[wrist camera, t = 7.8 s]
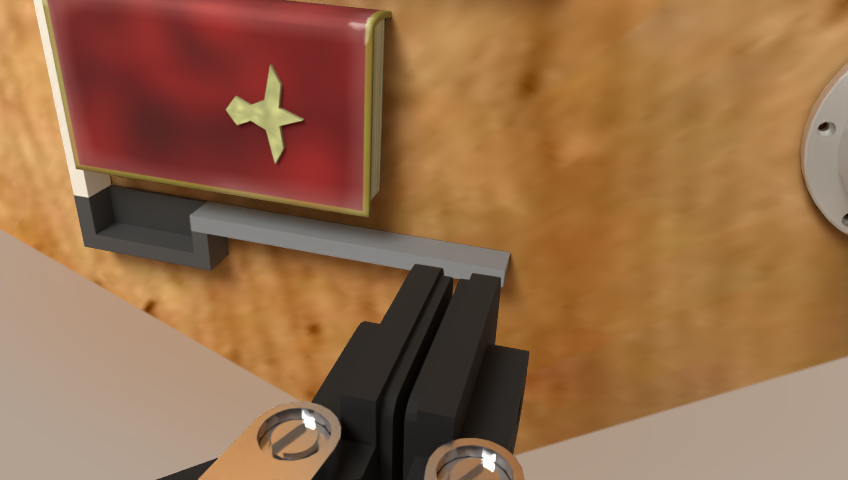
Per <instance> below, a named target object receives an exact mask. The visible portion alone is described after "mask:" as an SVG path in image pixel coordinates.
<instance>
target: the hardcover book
mask: <svg viewBox="0 0 848 480" xmlns="http://www.w3.org/2000/svg"><path fill="white" fill-rule="evenodd" d="M42 4H43V9H44V14H45V19H46V24H47V29H48V34H49V39H50V44H51V49H52V53H53V58H54V63H55V68H56V73H57V78H58V83H59V88H60V93H61V98H62V103H63V108H64V113H65V118H66V123H67V128H68V133H69V138H70V143H71V148H72V153H73V158H74V162H75V167H76V169H79V170H85V171H91V172H97V173H103V174H109V175H115V176H121V177H127V178H133V179H139V180H145V181H151V182H157V183H163V184H169V185H175V186H181V187H187V188H193V189H199V190H205V191H211V192H217V193H223V194H229V195H235V196H241V197H247V198H253V199H259V200H265V201H271V202H277V203H283V204H289V205H295V206H301V207H307V208H313V209H319V210H325V211H331V212H337V213H343V214H349V215H355V216H361V217H368V218H369V216H370V215H371V200H372V199H373V198H374V196H375V195H376V194H377V193H378V191H379V190H380V163H381V127H382V92H383V56H384V20H385V19H386V18H391V11H383V10H373V9H363V8H354V7H344V6H334V5H325V4H315V3H305V2H295V1H286V0H42Z"/></svg>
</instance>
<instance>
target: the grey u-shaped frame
mask: <svg viewBox="0 0 848 480" xmlns="http://www.w3.org/2000/svg"><path fill="white" fill-rule="evenodd" d="M34 5H35V10H36V14H37V19H38V24H39V29H40V34H41V39H42V43H43V48H44V53H45V58H46V63H47V68H48V72H49V77H50V82H51V87H52V92H53V96H54V101H55V106H56V111H57V116H58V121H59V125H60V130H61V135H62V140H63V145H64V149H65V154H66V159H67V164H68V169H69V174H70V178H71V183H72V188H73V193H74V198H75V203H76V207H77V212H78V217H79V222H80V227H81V231H82V236H83V241H84V246H85V247H90V248H95V249H101V250H106V251H111V252H116V253H121V254H127V255H132V256H137V257H142V258H148V259H153V260H158V261H163V262H168V263H174V264H179V265H184V266H189V267H194V268H200V269H205V270H210V271H211V270H212V269H213V268H214V267H215V266H216V265H218V264H219V263H220V262H221V261H222V260H223V259H224V258H225V257H226V256H227V255H228V246H227V237H228V238H234V239H239V240H245V241H250V242H256V243H262V244H267V245H273V246H278V247H284V248H289V249H295V250H300V251H306V252H311V253H317V254H322V255H328V256H334V257H339V258H345V259H350V260H356V261H361V262H367V263H372V264H378V265H383V266H389V267H394V268H400V269H406V270H411V269H412V267H413V266H414V264H421V265H427V266H434V267H440V268H443V269H444V276H449V277H452V278H455V279H461V278H462V279H468V280H469V279H470V277H471V275H472V273H477V274H484V275H490V276H496V277H501V287H503V285H504V281H505V278H506V274H507V271H508V266H509V258H510V252H504V251H498V250H492V249H486V248H481V247H475V246H469V245H463V244H457V243H451V242H445V241H439V240H434V239H428V238H422V237H416V236H410V235H404V234H398V233H392V232H387V231H381V230H375V229H369V228H363V227H357V226H351V225H345V224H340V223H334V222H328V221H322V220H316V219H310V218H304V217H298V216H293V215H287V214H281V213H275V212H269V211H263V210H257V209H251V208H246V207H240V206H234V205H228V204H222V203H216V202H210V201H204V200H199V199H193V198H187V197H181V196H175V195H169V194H163V193H157V192H152V191H146V190H140V189H134V188H128V187H122V186H116V185H111V180H110V175H109V174H103V173H97V172H91V171H85V170H79V169H76V167H75V162H74V158H73V153H72V148H71V143H70V138H69V133H68V128H67V123H66V118H65V113H64V108H63V103H62V98H61V93H60V88H59V83H58V78H57V73H56V68H55V63H54V58H53V53H52V49H51V44H50V39H49V34H48V29H47V24H46V19H45V14H44V9H43V4H42V0H34Z"/></svg>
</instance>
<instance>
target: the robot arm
mask: <svg viewBox="0 0 848 480" xmlns="http://www.w3.org/2000/svg"><path fill="white" fill-rule="evenodd" d="M824 122H827V126H826V127H825V128H823V129H818V127H819V125H820V124H822V123H824ZM800 152H801V170H802V174H803V177H804V181H805V184H806V187H807V190H808V191H809V193H810V195H811V197H812V199H813V200H814V202H815V204H816V205H817V207H818V208H819V209H820V210H821V212H822V213H823V214H824V216H825V217H826V218H827V219H828V220H829V221H830V222H831V223H832V224H833V225H834V226H835V227H837V228H838V229H839V230H840V231H842V232H843V233H845V234H847V235H848V216H846V217H844V215H846V214H848V63H846V64H845V65H844V66H843V67H842V68H841V69H840V70H839V72H838V73H837V74H836V75H835V76H834V77H833V78H832V79H831V80H830V82H829V83H828V84H827V85H826V86H825V88H824V89H823V91H822V93H821V94H820V96H819V97H818V99H817V101H816V102H815V104H814V105H813V107H812V110H811V112H810V115H809V117H808V120H807V122H806V125H805V127H804V132H803V137H802V143H801V149H800ZM500 289H501V277H496V276H490V275H484V274H477V273H472V275H471V277H470V279H469V280H468V279H462V278H461V279H460V280H459V282H458V285H457V287H456V289H455V292H454V294H453V278H452V277H449V276H444V269H443V268H440V267H434V266H427V265H421V264H414V266H413V267H412V269H411V271H410V272H409V274H408V276H407V278H406V279H405V281H404V283H403V285H402V286H401V288H400V290H399V292H398V293H397V295H396V297H395V299H394V300H393V302H392V304H391V306H390V308H389V309H388V311H387V313H386V315H385V316H384V318H383V320H382V322H381V323H380V324H377V323H372V322H366V321H364V322H361V324H360V325H359V326H358V327H357V329H356V331H355V332H354V334H353V336H352V337H351V339H350V340H349V342H348V344H347V345H346V347H345V348H344V350H343V352H342V353H341V355H340V357H339V358H338V360H337V361H336V363H335V365H334V366H333V368H332V370H331V371H330V373H329V374H328V376H327V378H326V379H325V381H324V382H323V384H322V386H321V387H320V389H319V391H318V392H317V394H316V395H315V397H314V399H313V400H312V402H311V403H310V402H289V403H285V404H281V405H277V406H275V407H273V408H271V409H269V410H267V411H265V412H264V413H262V414H261V415H260V416H259V417H257V418H256V419H255V420H254V421H253V422H252V423H251V424H250V425H249V426H248V427H247V429H246V430H245V431H244V432H243V433H242V434H241V435H240V436H239V437H238V438H237V439H236V440H235V441H234V442H233V443H232V444H231V445H230V446H229V447H228V448H227V449H226V451H225V452H224V453H223V454H222V455H221V456H220V457H219V458H216V459H213V460H211V461H208V462H205V463H202V464H199V465H197V466H194V467H191V468H188V469H185V470H182V471H180V472H177V473H174V474H172V475H168V476H166V477H163V478H160V479H157V480H525V478H524V474H523V470H522V467H521V465H520V464H519V462H518V461H517V459H516V457H515V456H514V455H513V452H514V447H515V442H516V437H517V432H518V426H519V421H520V415H521V409H522V403H523V396H524V390H525V382H526V375H527V367H528V359H529V351H525V350H520V349H514V348H509V347H503V346H498V345H495V339H496V329H497V319H498V309H499V299H500ZM452 294H453V296H452Z"/></svg>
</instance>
